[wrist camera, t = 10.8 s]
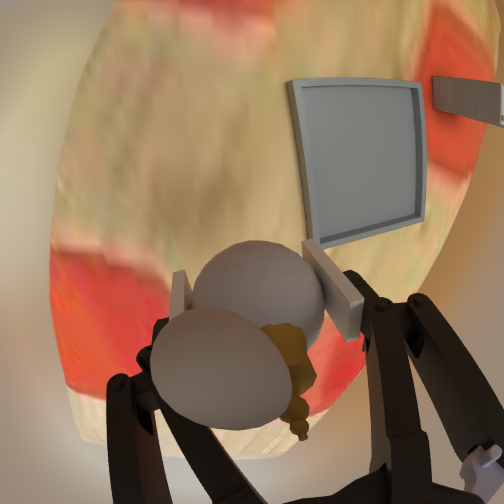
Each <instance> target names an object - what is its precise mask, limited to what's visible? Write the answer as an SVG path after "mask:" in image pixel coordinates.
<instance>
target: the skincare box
mask: <svg viewBox="0 0 504 504" xmlns="http://www.w3.org/2000/svg"><path fill="white" fill-rule="evenodd" d="M432 82H433V108H434V109H437V110H440V111H444V112H447V113H451V114H455V115H459V116H463V117H467V118H471V119H474V120H478V121H481V122H485V123H489V124H493V125H496V126H499V127H502V128H504V85H503V84H500V83H494V82H487V81H480V80H472V79H463V78H452V77H437V76H433V77H432Z"/></svg>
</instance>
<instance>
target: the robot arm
mask: <svg viewBox="0 0 504 504" xmlns="http://www.w3.org/2000/svg"><path fill="white" fill-rule="evenodd" d="M301 243H302V254H303V259H304V260H305V261H306V262H307V263H308V264H310V265H311V266H312V268H313V270H314V272H315V274H316V276H317V278H318V280H319V282H320V284H321V287H322V291H323V295H324V299H325V309H326V311H327V312H328V314H329V316H330V317H331V319H332V320H333V322H334V323H335V325H336V327H337V328H338V330H339V331H340V333H341V335H342V336H343V338H344V339H345V341H346V343H348V342H351V341H354V340H356V339H359V338H360V332H362V333H363V335H364V343H363V349H362V351H364V349H365V357H366V366H367V375H368V387H369V398H370V399H369V400H370V416H371V441H372V442H371V443H372V457H371V462H370V468H369V474H368V475H366V476H363V477H361V478H359V479H356V480H355V481H353V482H352V483H350V484H349V485H347V486H346V487H344V488H343V489H341V490H340V491H338V492H337V493H335V494H333V495H330V496H323V497H314V498H302V499H299V500H295V501H291V502H287V503H283V504H487V503H488V502H489V500H490V499H491V498H492V497H493V495H494V494H495V493H496V492H497V491H498V489H499V488H500V487H501V485H502V484H503V483H504V409H503V407H502V405H501V404H500V402H499V400H498V398H497V396H496V395H495V393H494V391H493V390H492V388H491V386H490V384H489V383H488V381H487V379H486V378H485V376H484V375H483V373H482V372H481V370H480V368H479V367H478V365H477V364H476V362H475V361H474V359H473V357H472V356H471V355H470V353H469V351H468V350H467V349H466V347H465V346H464V344H463V343H462V341H461V340H460V339H459V337H458V336H457V334H456V333H455V331H454V330H453V329H452V327H451V326H450V325H449V323H448V322H447V321H446V319H445V318H444V317H443V315H442V314H441V313H440V311H439V310H438V309H437V307H436V306H435V305H434V304H433V302H432V301H431V300H430V299H429V298H428V297H427V296H426V295H424V294H421V293H414V294H412V295H410V296H409V297H408V300H407V302H403V303H393V302H392V301H391V300H389V299H387V298H384V297H379V296H378V295H377V293H376V292H375V291H374V290H373V289H372V288H371V287H370V286H369V285H368V284H367V282H366V281H365V280H363V278H362V277H361V276H360V275H359V274H358V273H356V272H354V271H352V270H348V271H345V272H342V271H341V270H340V269H339V268H338V267H337V266H336V264H335V263H334V262H333V261H332V260H331V259H330V258H329V256H328V255H327V254H326V253H325V252H324V251H323V250H322V249H321V247H320V246H319V245H318V244H317V243H316V242H315V241H314V240H313V239H308V240H304V241H301ZM191 296H192V290H191V287H190V284H189V281H188V278H187V275H186V272H185V270H181V271H177V272H173V278H172V289H171V302H170V316H169V317H168V318H163V319H158V320H157V322H156V323H155V325H154V327H153V335H152V345H149V346H146V347H144V348H143V349H141V350H140V351H139V353H138V354H137V357H136V361H137V363H138V364H139V366H140V367H141V369H142V370H143V371H142V372H141V373H139V374H137V375H134V376H132V377H129V376H128V375H127V374H123V373H120V374H116V375H114V376H113V377H111V378H110V380H109V381H108V383H107V392H106V425H107V449H108V462H109V473H110V482H111V490H112V497H113V504H173V503H172V499H171V495H170V491H169V487H168V483H167V479H166V474H165V471H164V465H163V461H162V455H161V450H160V445H159V439H158V433H157V427H156V421H155V414H154V411H155V410H157V409H160V410H161V412H162V414H163V416H164V418H165V420H166V422H167V424H168V426H169V428H170V430H171V432H172V434H173V436H174V438H175V440H176V442H177V444H178V445H179V447H180V449H181V451H182V453H183V454H184V456H185V458H186V460H187V461H188V463H189V465H190V466H191V468H192V470H193V471H194V473H195V475H196V476H197V478H198V480H199V481H200V483H201V484H202V486H203V487H204V489H205V490H206V492H207V493H208V495H209V496H210V498H211V500H212V504H268V503H267V502H266V501H265V500H264V499H263V498H262V496H261V495H260V494H259V493H258V492H257V491H256V489H255V488H254V487H253V486H252V484H251V483H250V482H249V481H248V479H247V478H246V477H245V476H244V474H243V473H242V472H241V471H240V469H239V468H238V467H237V465H236V464H235V463H234V461H233V460H232V459H231V457H230V456H229V454H228V453H227V452H226V450H225V449H224V447H223V446H222V445H221V443H220V442H219V440H218V439H217V437H216V436H215V434H214V433H213V431H212V430H211V428H210V427H208V426H205V425H202V424H198V423H196V422H194V421H192V420H190V419H188V418H186V417H184V416H182V415H180V414H179V413H177V412H176V411H174V410H173V409H172V408H171V407H170V406H169V405H168V404H167V403H166V402H165V401H164V400H163V399H162V398H161V396H160V394H159V392H158V390H157V388H156V386H155V384H154V382H153V380H152V375H151V366H150V357H151V352H152V348H153V344H154V342H155V340H156V338H157V336H158V334H159V333H160V331H161V330H162V329H163V327H164V326H165V325H166V324H167V323H168V322H169V321H170V320H171V319H172V318H174V317H175V316H177V315H179V314H181V313H183V312H185V311H187V310H191ZM407 354H408V355H407ZM408 356H409V357H410V359H411V361H412V363H413V365H414V367H415V369H416V370H417V372H418V374H419V376H420V378H421V380H422V382H423V384H424V386H425V388H426V390H427V392H428V394H429V396H430V398H431V400H432V402H433V404H434V406H435V409H436V411H437V413H438V415H439V417H440V419H441V422H442V423H443V426H444V428H445V431H446V433H447V435H448V438H449V440H450V442H451V444H452V446H453V449H454V451H455V453H456V454H457V456H458V457H459V459H460V460H461V461H462V463H463V464H462V467H461V471H460V477H461V478H462V479H464V481H465V487H464V491H461V490H457V489H454V488H450V487H447V486H443V485H439V484H436V483H433V482H432V471H431V458H430V448H429V440H428V436H427V434H426V432H424V431H422V429H421V424H420V417H419V411H418V404H417V399H416V393H415V388H414V383H413V378H412V373H411V369H410V364H409V359H408Z"/></svg>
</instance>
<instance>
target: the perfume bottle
mask: <svg viewBox="0 0 504 504" xmlns="http://www.w3.org/2000/svg"><path fill="white" fill-rule="evenodd" d="M324 311H325V299H324V295H323V291H322V287H321V284H320V282H319V280H318V278H317V276H316V274H315V272H314V270H313V268H312V266H311V265H310V264H308V263H307V262H306V261H305V260H304V259H303V258H302V257H301V256H300V255H299V254H298V253H296V252H294V251H292V250H291V249H289V248H287V247H285V246H284V245H282V244H278V243H273V242H268V241H252V240H250V241H246V242H242V243H238V244H234V245H232V246H230V247H228V248H227V249H225V250H223V251H222V252H220V253H218V254H217V255H216V256H214V257H213V258H212V259H211V260H210V261H209V262H208V263H207V264H206V265H205V266H204V268H203V269H202V271H201V273H200V274H199V276H198V278H197V279H196V281H195V284H194V288H193V292H192V296H191V310H187V311H185V312H183V313H181V314H179V315H177V316H175V317H174V318H172V319H171V320H170V321H169V322H168V323H167V324H166V325H165V326H164V327H163V329H162V330H161V331H160V333H159V334H158V336H157V338H156V340H155V342H154V344H153V348H152V352H151V357H150V366H151V375H152V380H153V382H154V384H155V386H156V388H157V390H158V392H159V394H160V396H161V398H162V399H163V400H164V401H165V402H166V403H167V404H168V405H169V406H170V407H171V408H172V409H173V410H174V411H176V412H177V413H179V414H180V415H182V416H184V417H186V418H188V419H190V420H192V421H194V422H196V423H198V424H202V425H205V426H208V427H211V428H216V429H226V430H245V429H251V428H257V427H261V426H263V425H265V424H267V423H269V422H271V421H273V420H275V419H277V418H278V417H280V419H281V420H282V421H284V422H286V423H289V424H290V430H291V432H292V433H293V434H295V435H298V438H299V440H300V441H304V440H306V439H308V436H307V432H308V430H309V424H308V422H307V421H306V418H307V417H308V415H309V405H308V404H307V402H306V400H305V399H303V398H301V397H300V395H302V394H303V393H304V392H306V391H307V390H308V389H309V388H310V387H312V386H313V384H314V381H315V379H316V377H317V375H316V372H315V370H314V368H313V366H312V364H311V362H310V359H309V357H308V355H307V352H308V350H309V349H310V348H311V346H312V345H313V344H314V343H315V341H316V340H317V338H318V335H319V333H320V330H321V327H322V324H323V322H324Z"/></svg>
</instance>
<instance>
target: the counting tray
mask: <svg viewBox="0 0 504 504" xmlns="http://www.w3.org/2000/svg"><path fill="white" fill-rule="evenodd" d="M286 85H287V91H288V96H289V102H290V108H291V114H292V120H293V126H294V132H295V139H296V146H297V153H298V160H299V167H300V175H301V182H302V191H303V199H304V208H305V217H306V227H307V237H308V239H313V240H314V241H315V242H316V243H317V244H318V245H319V246H320V247H321V249H322V250H323V249H327V248H331V247H334V246H338V245H342V244H345V243H349V242H353V241H356V240H360V239H363V238H367V237H370V236H374V235H378V234H381V233H385V232H388V231H392V230H395V229H399V228H402V227H406V226H409V225H413V224H416V223H420V222H423V221H424V216H425V203H426V180H427V147H426V125H425V111H424V101H423V92H422V84H421V83H419V82H411V81H401V80H389V79H372V78H317V79H300V80H291V81H288V82H286Z"/></svg>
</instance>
